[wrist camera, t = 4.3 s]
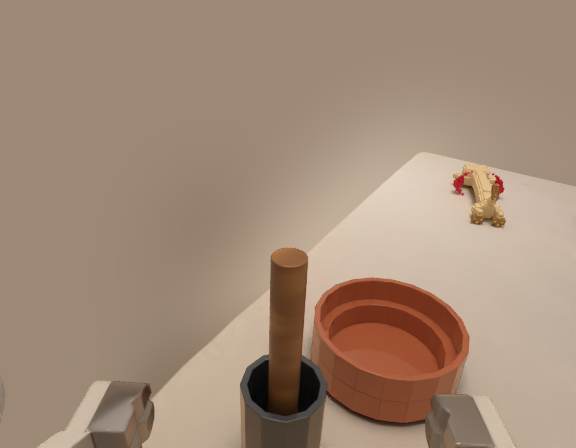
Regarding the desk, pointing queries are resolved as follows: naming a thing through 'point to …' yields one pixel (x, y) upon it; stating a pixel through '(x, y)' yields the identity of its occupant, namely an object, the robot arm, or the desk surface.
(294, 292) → the stirring stick
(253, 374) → the utensil pot
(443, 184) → the desk surface
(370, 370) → the bowl
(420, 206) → the desk surface
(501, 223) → the cat figure
